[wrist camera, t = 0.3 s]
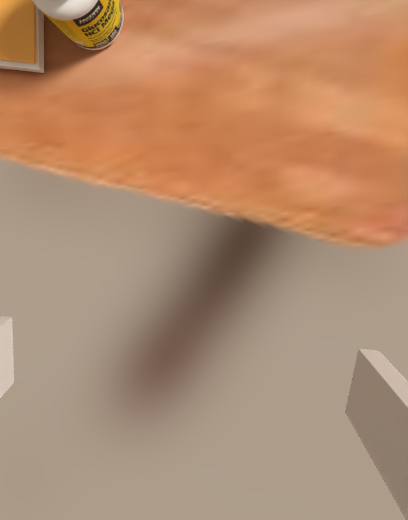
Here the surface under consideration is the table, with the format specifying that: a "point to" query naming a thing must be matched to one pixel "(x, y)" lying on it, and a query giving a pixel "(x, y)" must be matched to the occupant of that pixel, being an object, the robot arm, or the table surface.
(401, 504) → the robot arm
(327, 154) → the table surface
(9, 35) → the breaker panel
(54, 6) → the pill bottle
